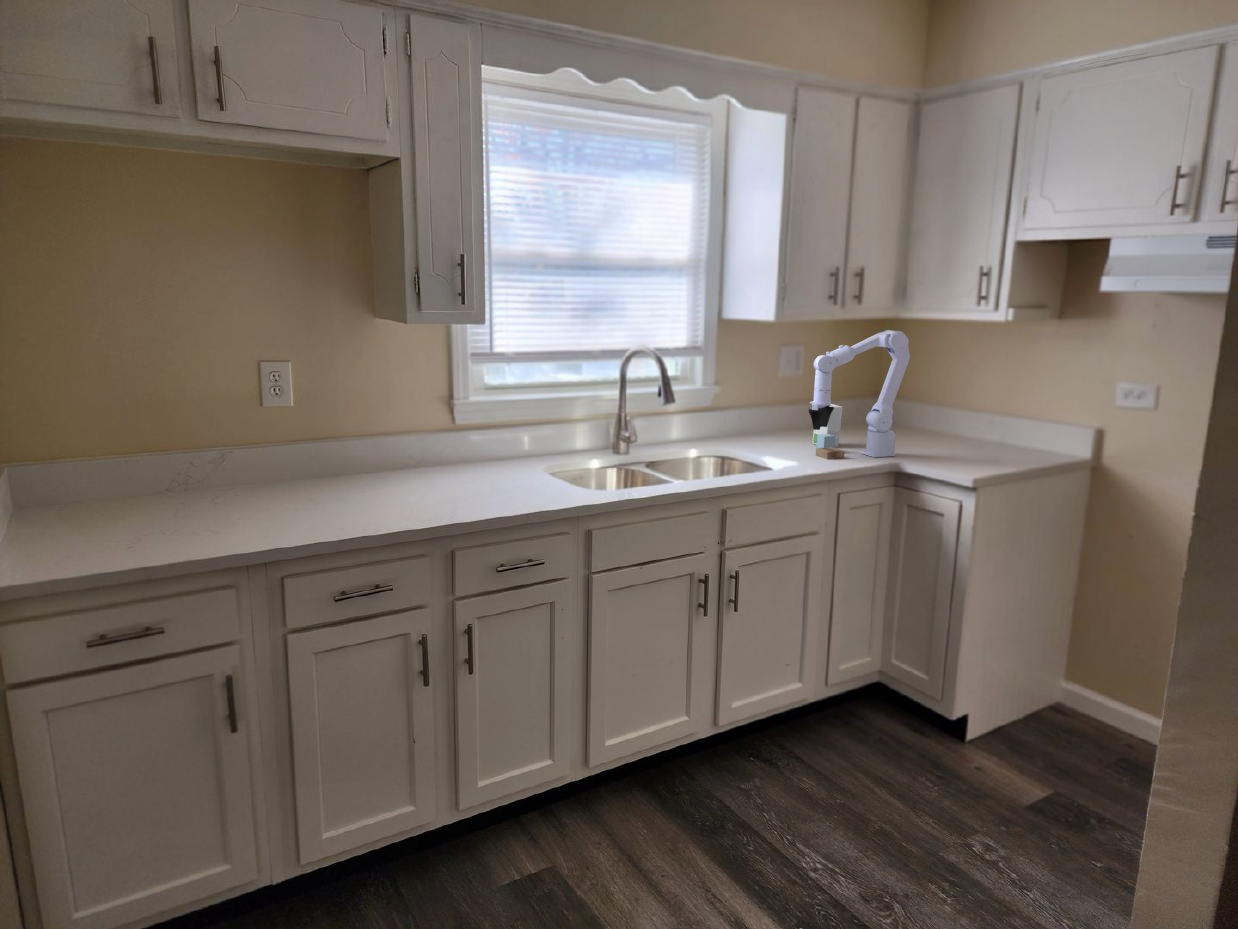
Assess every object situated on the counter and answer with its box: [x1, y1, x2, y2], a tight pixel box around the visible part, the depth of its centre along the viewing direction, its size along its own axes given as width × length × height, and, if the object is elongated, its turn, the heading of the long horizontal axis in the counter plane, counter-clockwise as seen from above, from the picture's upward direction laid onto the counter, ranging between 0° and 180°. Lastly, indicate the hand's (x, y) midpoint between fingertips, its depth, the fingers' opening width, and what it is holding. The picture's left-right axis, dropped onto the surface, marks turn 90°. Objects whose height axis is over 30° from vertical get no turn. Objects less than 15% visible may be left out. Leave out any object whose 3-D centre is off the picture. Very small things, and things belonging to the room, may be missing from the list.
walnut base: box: [815, 447, 845, 460], centre depth 286 cm, size 7×7×3 cm
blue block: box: [816, 434, 835, 448], centre depth 296 cm, size 4×4×6 cm
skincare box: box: [812, 403, 844, 448], centre depth 306 cm, size 8×7×16 cm
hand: (820, 428), depth 288 cm, fingers open, 7 cm apart
